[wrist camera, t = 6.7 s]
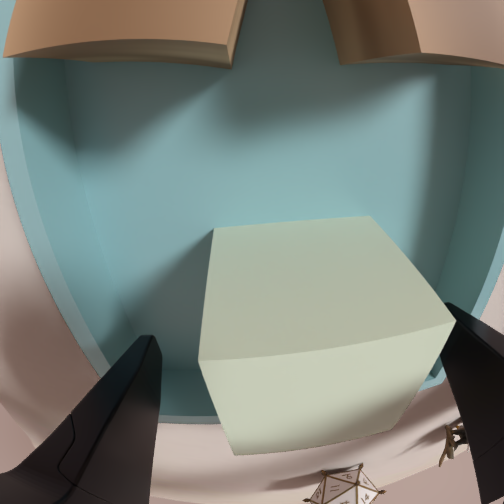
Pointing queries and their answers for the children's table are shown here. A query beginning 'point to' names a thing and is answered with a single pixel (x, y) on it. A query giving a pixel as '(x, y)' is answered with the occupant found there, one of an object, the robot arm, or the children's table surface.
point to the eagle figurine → (451, 443)
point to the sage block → (314, 332)
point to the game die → (345, 489)
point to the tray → (242, 176)
